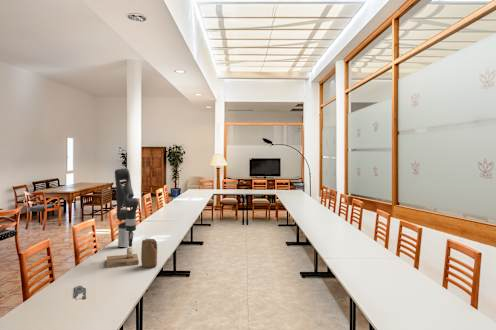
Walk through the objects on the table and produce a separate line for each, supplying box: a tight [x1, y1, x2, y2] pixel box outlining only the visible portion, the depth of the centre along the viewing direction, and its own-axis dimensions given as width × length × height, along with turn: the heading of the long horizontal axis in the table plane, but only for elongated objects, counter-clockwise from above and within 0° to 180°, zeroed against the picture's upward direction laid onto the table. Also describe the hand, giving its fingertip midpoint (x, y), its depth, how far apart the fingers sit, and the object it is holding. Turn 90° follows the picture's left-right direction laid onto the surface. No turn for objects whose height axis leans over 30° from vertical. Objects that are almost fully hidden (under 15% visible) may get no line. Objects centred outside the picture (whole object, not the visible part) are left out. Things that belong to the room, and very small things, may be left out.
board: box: [105, 253, 140, 269], centre depth 241 cm, size 18×22×3 cm
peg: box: [126, 247, 133, 259], centre depth 243 cm, size 4×4×10 cm
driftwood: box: [73, 285, 87, 301], centre depth 186 cm, size 21×7×2 cm, turn 26°
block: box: [140, 238, 158, 269], centre depth 233 cm, size 11×8×20 cm
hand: (130, 246), depth 244 cm, fingers closed
